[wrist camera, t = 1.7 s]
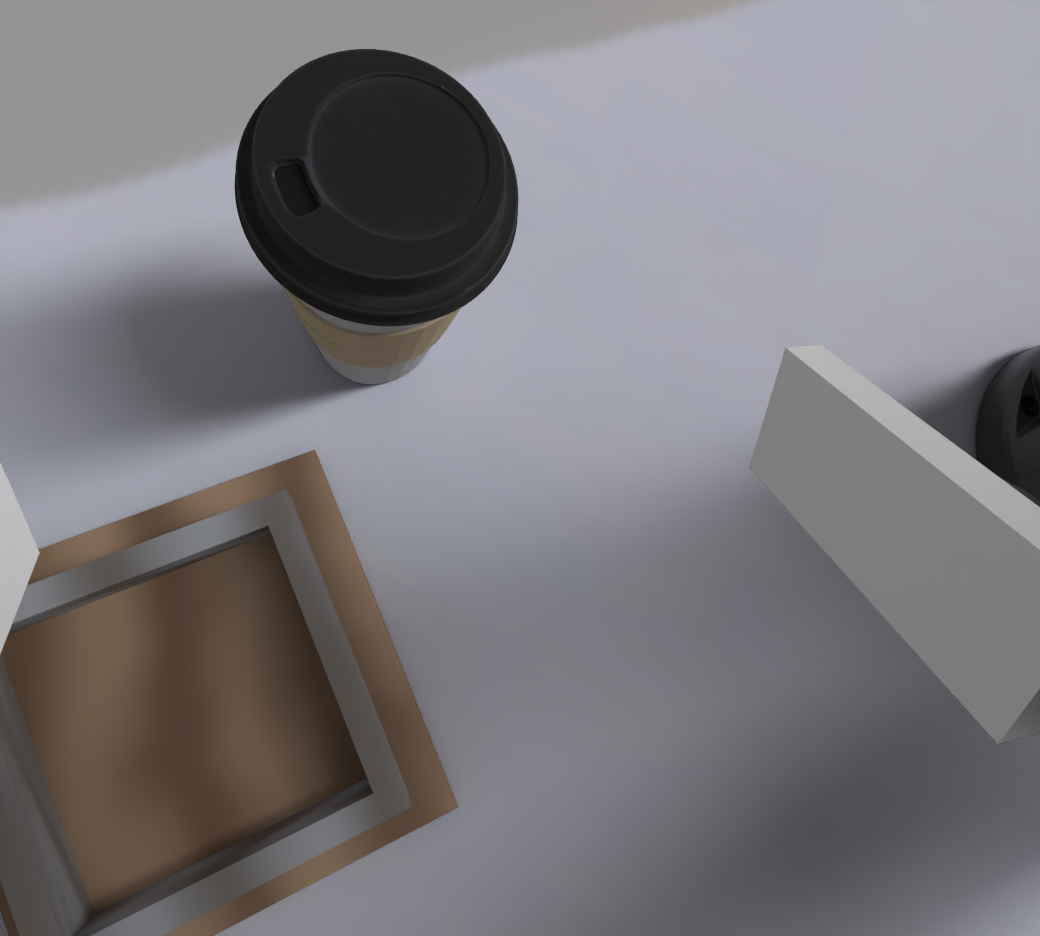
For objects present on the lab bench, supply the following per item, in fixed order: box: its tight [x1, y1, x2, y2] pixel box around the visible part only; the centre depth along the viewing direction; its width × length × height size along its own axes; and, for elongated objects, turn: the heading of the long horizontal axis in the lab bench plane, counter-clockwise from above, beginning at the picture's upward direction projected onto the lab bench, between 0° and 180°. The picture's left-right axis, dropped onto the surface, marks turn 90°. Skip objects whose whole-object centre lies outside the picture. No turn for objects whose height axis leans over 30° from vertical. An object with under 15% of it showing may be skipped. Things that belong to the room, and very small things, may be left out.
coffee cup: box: [235, 49, 518, 384], centre depth 30 cm, size 9×9×15 cm
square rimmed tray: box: [0, 450, 458, 936], centre depth 30 cm, size 18×18×4 cm
